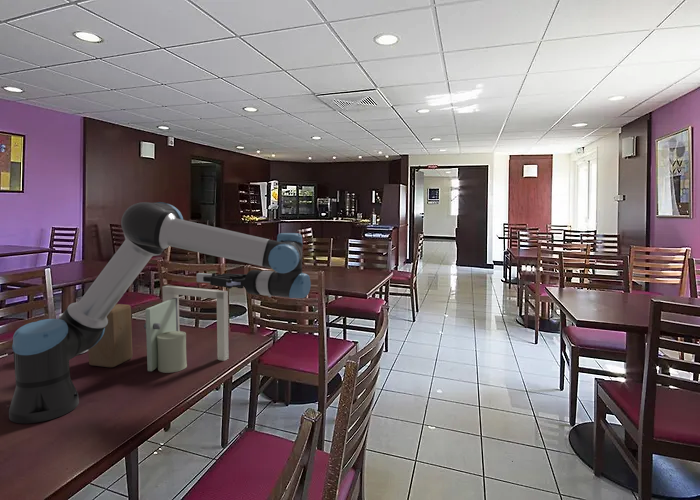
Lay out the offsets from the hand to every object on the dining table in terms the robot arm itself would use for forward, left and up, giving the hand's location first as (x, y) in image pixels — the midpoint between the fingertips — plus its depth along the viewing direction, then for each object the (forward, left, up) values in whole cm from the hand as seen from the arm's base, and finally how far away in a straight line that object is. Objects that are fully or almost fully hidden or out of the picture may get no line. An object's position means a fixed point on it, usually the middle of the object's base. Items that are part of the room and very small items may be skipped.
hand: (198, 277), depth 135 cm
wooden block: (-4, +34, -32) cm, 47 cm away
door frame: (+13, +12, -32) cm, 36 cm away
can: (0, +11, -32) cm, 34 cm away
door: (+3, +17, -32) cm, 36 cm away
